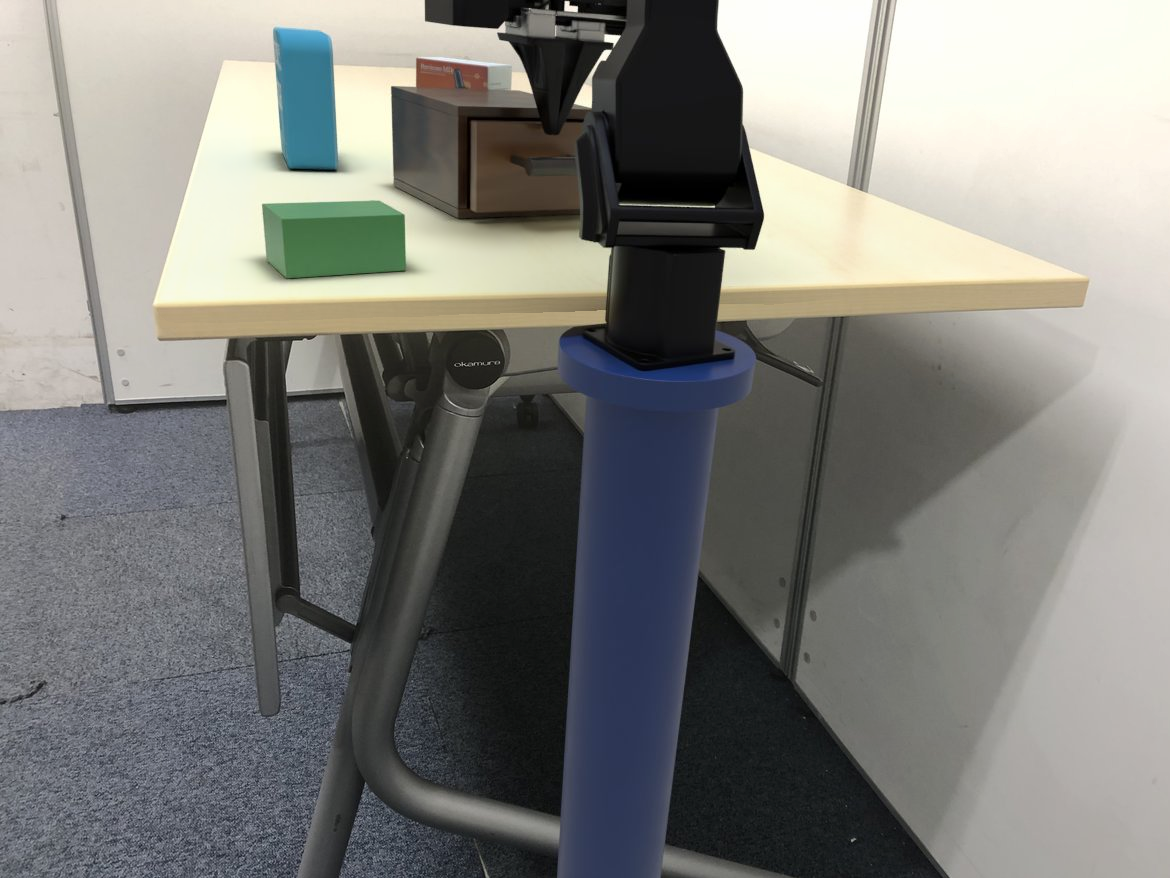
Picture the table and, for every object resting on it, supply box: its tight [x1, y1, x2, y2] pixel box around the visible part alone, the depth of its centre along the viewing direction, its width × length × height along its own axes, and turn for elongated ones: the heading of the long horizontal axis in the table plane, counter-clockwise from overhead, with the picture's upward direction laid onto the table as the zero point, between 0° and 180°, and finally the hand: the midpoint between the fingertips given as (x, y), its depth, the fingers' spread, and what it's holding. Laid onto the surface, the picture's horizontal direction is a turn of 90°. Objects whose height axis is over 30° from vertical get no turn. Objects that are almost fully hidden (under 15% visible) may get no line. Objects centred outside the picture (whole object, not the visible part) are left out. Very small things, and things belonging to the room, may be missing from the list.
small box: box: [415, 56, 513, 90], centre depth 99 cm, size 8×6×10 cm
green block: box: [261, 200, 407, 279], centre depth 62 cm, size 5×8×4 cm, turn 123°
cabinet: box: [390, 85, 592, 219], centre depth 86 cm, size 15×13×9 cm
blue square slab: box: [272, 26, 339, 171], centre depth 96 cm, size 12×4×12 cm, turn 21°
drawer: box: [467, 117, 583, 213], centre depth 82 cm, size 18×11×7 cm, turn 33°
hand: (551, 134), depth 77 cm, fingers closed
